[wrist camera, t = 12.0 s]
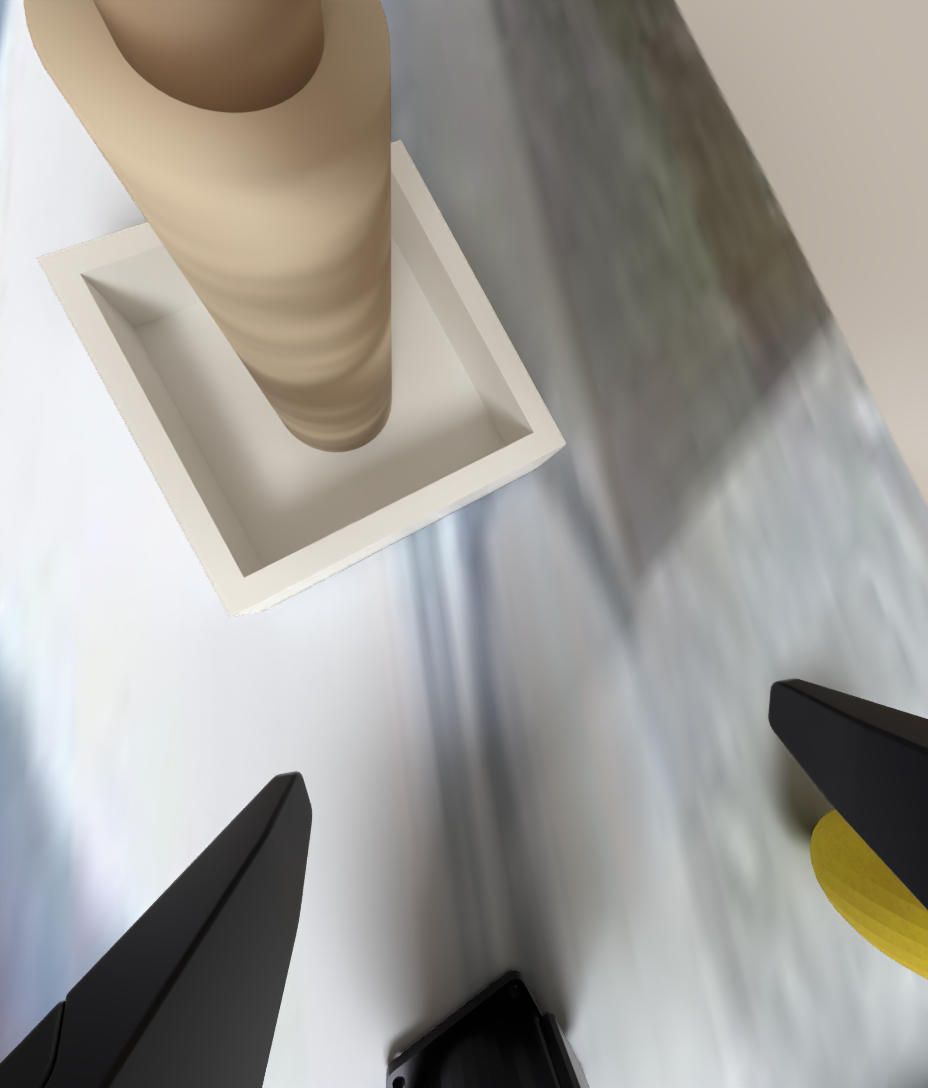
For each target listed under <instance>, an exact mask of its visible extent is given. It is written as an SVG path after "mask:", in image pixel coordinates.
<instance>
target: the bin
mask: <svg viewBox="0 0 928 1088" xmlns="http://www.w3.org/2000/svg"><path fill="white" fill-rule="evenodd" d="M36 259H37V260H38V262H39V264H40V266H41V268H42V270H43V272H44V273H45V275H46V277H47V279H48V281H49V283H50V285H51V286H52V288H53V290H54V292H55V294H56V296H57V298H58V299H59V301H60V303H61V305H62V307H63V309H64V311H65V312H66V314H67V316H68V318H69V320H70V322H71V324H72V326H73V327H74V329H75V331H76V333H77V335H78V337H79V339H80V340H81V342H82V344H83V346H84V348H85V350H86V352H87V353H88V355H89V357H90V359H91V361H92V363H93V365H94V366H95V368H96V370H97V372H98V374H99V376H100V378H101V379H102V381H103V383H104V385H105V387H106V389H107V391H108V392H109V394H110V396H111V398H112V400H113V402H114V404H115V406H116V407H117V409H118V411H119V413H120V415H121V417H122V419H123V420H124V422H125V424H126V426H127V428H128V430H129V432H130V433H131V435H132V437H133V439H134V441H135V443H136V445H137V446H138V448H139V450H140V452H141V454H142V456H143V458H144V459H145V461H146V463H147V465H148V467H149V469H150V471H151V473H152V474H153V476H154V478H155V480H156V482H157V484H158V486H159V487H160V489H161V491H162V493H163V495H164V497H165V499H166V500H167V502H168V504H169V506H170V508H171V510H172V512H173V513H174V515H175V517H176V519H177V521H178V523H179V525H180V526H181V528H182V530H183V532H184V534H185V536H186V538H187V539H188V541H189V543H190V545H191V547H192V549H193V551H194V553H195V554H196V556H197V558H198V560H199V562H200V564H201V566H202V567H203V569H204V571H205V573H206V575H207V577H208V579H209V580H210V582H211V584H212V586H213V588H214V590H215V592H216V593H217V595H218V597H219V599H220V601H221V603H222V605H223V606H224V608H225V610H226V612H227V614H228V616H229V618H231V617H236V616H241V615H246V614H252V613H257V612H262V611H265V610H267V609H269V608H271V607H273V606H275V605H277V604H279V603H280V602H282V601H284V600H286V599H288V598H290V597H292V596H294V595H296V594H298V593H300V592H302V591H303V590H305V589H307V588H309V587H311V586H313V585H315V584H317V583H319V582H321V581H323V580H325V579H326V578H328V577H330V576H332V575H334V574H336V573H338V572H340V571H342V570H344V569H346V568H348V567H350V566H351V565H353V564H355V563H357V562H359V561H361V560H363V559H365V558H367V557H369V556H371V555H373V554H374V553H376V552H378V551H380V550H382V549H384V548H386V547H388V546H390V545H392V544H394V543H396V542H397V541H399V540H401V539H403V538H405V537H407V536H409V535H411V534H413V533H415V532H417V531H419V530H420V529H422V528H424V527H426V526H428V525H430V524H432V523H434V522H436V521H438V520H440V519H442V518H443V517H445V516H447V515H449V514H451V513H453V512H455V511H457V510H459V509H461V508H463V507H465V506H466V505H468V504H470V503H472V502H474V501H476V500H478V499H480V498H482V497H484V496H486V495H488V494H490V493H491V492H493V491H495V490H497V489H499V488H501V487H503V486H505V485H507V484H509V483H511V482H513V481H514V480H516V479H518V478H520V477H522V476H524V475H526V474H528V473H530V472H532V471H534V470H535V469H536V468H538V467H539V466H540V465H541V464H542V463H544V462H545V461H546V460H547V459H549V458H550V457H551V456H552V455H554V454H555V453H556V452H557V451H558V450H560V449H561V448H562V447H563V446H565V445H566V442H565V440H564V438H563V437H562V435H561V433H560V431H559V429H558V427H557V425H556V424H555V422H554V420H553V418H552V416H551V414H550V413H549V411H548V409H547V407H546V405H545V403H544V402H543V400H542V398H541V396H540V394H539V392H538V391H537V389H536V387H535V385H534V383H533V381H532V380H531V378H530V376H529V374H528V372H527V370H526V369H525V367H524V365H523V363H522V361H521V359H520V357H519V356H518V354H517V352H516V350H515V348H514V346H513V345H512V343H511V341H510V339H509V337H508V335H507V334H506V332H505V330H504V328H503V326H502V324H501V323H500V321H499V319H498V317H497V315H496V313H495V312H494V310H493V308H492V306H491V304H490V302H489V301H488V299H487V297H486V295H485V293H484V291H483V290H482V288H481V286H480V284H479V282H478V280H477V278H476V277H475V275H474V273H473V271H472V269H471V267H470V266H469V264H468V262H467V260H466V258H465V256H464V255H463V253H462V251H461V249H460V247H459V245H458V244H457V242H456V240H455V238H454V236H453V234H452V233H451V231H450V229H449V227H448V225H447V223H446V222H445V220H444V218H443V216H442V214H441V212H440V211H439V209H438V207H437V205H436V203H435V201H434V199H433V198H432V196H431V194H430V192H429V190H428V188H427V187H426V185H425V183H424V181H423V179H422V177H421V176H420V174H419V172H418V170H417V168H416V166H415V165H414V163H413V161H412V159H411V157H410V155H409V154H408V152H407V150H406V148H405V146H404V144H403V143H402V141H401V140H398V141H395V142H391V332H392V405H391V411H390V415H389V418H388V421H387V423H386V425H385V426H384V428H383V429H382V431H381V432H380V433H379V434H378V435H377V436H376V437H375V438H374V439H373V440H372V441H370V442H369V443H367V444H366V445H364V446H362V447H360V448H357V449H354V450H351V451H346V452H326V451H322V450H318V449H315V448H312V447H310V446H308V445H306V444H304V443H302V442H301V441H300V440H298V439H297V438H296V437H295V436H293V435H292V434H291V433H290V431H289V430H288V429H287V428H286V426H285V425H284V423H283V422H282V421H281V419H280V418H279V416H278V415H277V413H276V412H275V410H274V409H273V407H272V406H271V404H270V403H269V401H268V400H267V398H266V397H265V395H264V394H263V392H262V391H261V389H260V388H259V386H258V385H257V383H256V382H255V380H254V379H253V377H252V376H251V374H250V373H249V371H248V370H247V368H246V367H245V366H244V364H243V363H242V361H241V360H240V358H239V357H238V355H237V354H236V352H235V351H234V349H233V348H232V346H231V345H230V343H229V342H228V340H227V339H226V337H225V336H224V334H223V333H222V331H221V330H220V328H219V327H218V325H217V324H216V322H215V321H214V319H213V318H212V316H211V315H210V314H209V312H208V311H207V309H206V308H205V306H204V305H203V303H202V302H201V300H200V299H199V297H198V296H197V294H196V293H195V291H194V290H193V288H192V287H191V285H190V284H189V282H188V281H187V279H186V278H185V276H184V275H183V273H182V272H181V270H180V269H179V267H178V266H177V264H176V263H175V261H174V260H173V259H172V257H171V256H170V254H169V253H168V251H167V250H166V248H165V247H164V245H163V244H162V242H161V241H160V239H159V238H158V236H157V235H156V233H155V232H154V230H153V229H152V227H151V226H150V224H149V223H148V222H145V223H142V224H139V225H136V226H133V227H130V228H127V229H123V230H120V231H117V232H114V233H111V234H108V235H105V236H102V237H99V238H96V239H93V240H90V241H86V242H83V243H80V244H77V245H74V246H71V247H68V248H65V249H62V250H59V251H56V252H53V253H49V254H46V255H43V256H40V257H37V258H36Z"/></svg>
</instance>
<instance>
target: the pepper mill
mask: <svg viewBox="0 0 928 1088" xmlns="http://www.w3.org/2000/svg"><path fill="white" fill-rule="evenodd" d="M24 9H25V15H26V22H27V27H28V30H29V33H30V36H31V39H32V42H33V46H34V48H35V50H36V52H37V54H38V56H39V58H40V60H41V62H42V64H43V66H44V68H45V70H46V71H47V73H48V74H49V76H50V77H51V79H52V80H53V82H54V83H55V85H56V86H57V88H58V89H59V91H60V92H61V94H62V95H63V96H64V98H65V99H66V101H67V102H68V104H69V105H70V107H71V108H72V110H73V111H74V113H75V114H76V116H77V117H78V119H79V120H80V122H81V123H82V125H83V126H84V128H85V129H86V131H87V132H88V134H89V135H90V137H91V138H92V140H93V141H94V143H95V144H96V146H97V147H98V149H99V150H100V151H101V153H102V154H103V156H104V157H105V159H106V160H107V162H108V163H109V165H110V166H111V168H112V169H113V171H114V172H115V174H116V175H117V177H118V178H119V180H120V181H121V183H122V184H123V186H124V187H125V189H126V190H127V192H128V193H129V195H130V196H131V198H132V199H133V201H134V202H135V204H136V205H137V206H138V208H139V209H140V211H141V212H142V214H143V215H144V217H145V218H146V220H147V221H148V223H149V224H150V226H151V227H152V229H153V230H154V232H155V233H156V235H157V236H158V238H159V239H160V241H161V242H162V244H163V245H164V247H165V248H166V250H167V251H168V253H169V254H170V256H171V257H172V259H173V260H174V261H175V263H176V264H177V266H178V267H179V269H180V270H181V272H182V273H183V275H184V276H185V278H186V279H187V281H188V282H189V284H190V285H191V287H192V288H193V290H194V291H195V293H196V294H197V296H198V297H199V299H200V300H201V302H202V303H203V305H204V306H205V308H206V309H207V311H208V312H209V314H210V315H211V316H212V318H213V319H214V321H215V322H216V324H217V325H218V327H219V328H220V330H221V331H222V333H223V334H224V336H225V337H226V339H227V340H228V342H229V343H230V345H231V346H232V348H233V349H234V351H235V352H236V354H237V355H238V357H239V358H240V360H241V361H242V363H243V364H244V366H245V367H246V368H247V370H248V371H249V373H250V374H251V376H252V377H253V379H254V380H255V382H256V383H257V385H258V386H259V388H260V389H261V391H262V392H263V394H264V395H265V397H266V398H267V400H268V401H269V403H270V404H271V406H272V407H273V409H274V410H275V412H276V413H277V415H278V416H279V418H280V419H281V421H282V422H283V423H284V425H285V426H286V428H287V429H288V430H289V431H290V433H291V434H292V435H293V436H295V437H296V438H297V439H298V440H300V441H301V442H302V443H304V444H306V445H308V446H310V447H312V448H315V449H318V450H322V451H326V452H346V451H351V450H354V449H357V448H360V447H362V446H364V445H366V444H367V443H369V442H370V441H372V440H373V439H374V438H375V437H376V436H377V435H378V434H379V433H380V432H381V431H382V429H383V428H384V426H385V425H386V423H387V421H388V418H389V415H390V411H391V405H392V332H391V84H390V39H389V31H388V26H387V22H386V17H385V13H384V11H383V8H382V5H381V2H380V0H24Z"/></svg>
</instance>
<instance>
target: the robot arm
mask: <svg viewBox="0 0 928 1088" xmlns="http://www.w3.org/2000/svg"><path fill="white" fill-rule="evenodd" d="M768 718H769V723H770V725H771V727H772V729H773V731H774V732H775V734H776V735H777V736H778V738H779V739H780V740H781V741H782V743H783V744H784V745H785V746H786V748H787V749H788V750H789V752H790V753H791V754H792V755H793V757H794V758H795V759H796V760H797V762H798V763H799V764H800V766H801V767H802V768H803V769H804V771H805V772H806V773H807V775H808V776H809V777H810V778H811V780H812V781H813V782H814V783H815V785H816V786H817V787H818V789H819V790H820V791H821V792H822V794H823V795H824V796H825V797H826V799H827V800H828V801H829V802H830V803H831V805H832V806H833V807H834V808H835V809H836V811H837V812H838V813H839V814H840V815H841V816H842V817H843V819H844V820H845V821H846V822H847V823H848V824H849V825H850V826H851V827H852V828H853V830H854V831H855V832H856V833H857V834H858V835H859V836H860V837H861V838H862V839H863V841H864V842H865V843H866V844H867V845H868V846H869V847H870V848H871V849H872V850H873V851H874V853H875V854H876V855H877V856H878V857H879V858H880V859H881V860H882V861H883V862H884V863H885V865H886V866H887V867H888V868H889V869H890V870H891V871H892V872H893V873H894V874H895V875H896V877H897V878H898V879H899V880H900V881H901V882H902V883H903V884H904V885H905V886H906V887H907V889H908V890H909V891H910V892H911V893H912V894H913V895H914V896H915V897H916V898H917V899H918V901H919V902H920V903H921V904H922V905H923V906H924V907H925V908H926V909H927V910H928V719H926V718H922V717H919V716H916V715H913V714H910V713H906V712H903V711H900V710H897V709H894V708H890V707H887V706H884V705H881V704H877V703H874V702H871V701H868V700H865V699H861V698H858V697H855V696H852V695H848V694H845V693H842V692H839V691H836V690H832V689H829V688H826V687H823V686H820V685H816V684H813V683H810V682H807V681H803V680H800V679H787V680H781V681H777V682H775V683H773V685H772V686H771V691H770V703H769V714H768ZM311 824H312V808H311V804H310V800H309V797H308V793H307V790H306V786H305V783H304V779H303V777H302V775H301V773H300V772H297V771H295V772H289V773H284V774H279V775H276V776H275V777H274V778H273V779H271V781H270V782H269V783H268V784H267V785H266V786H265V787H264V788H263V789H262V790H261V791H260V792H259V793H258V794H257V795H256V796H255V797H254V798H253V799H252V800H251V802H250V803H249V804H248V805H247V806H246V807H245V808H244V809H243V810H242V811H241V812H240V813H239V814H238V815H237V816H236V817H235V818H234V819H233V820H232V821H231V823H230V824H229V825H228V826H227V827H226V828H225V829H224V830H223V831H222V832H221V833H220V834H219V835H218V836H217V837H216V838H215V839H214V840H213V841H212V842H211V844H210V845H209V846H208V847H207V848H206V849H205V850H204V851H203V852H202V853H201V854H200V855H199V856H198V857H197V858H196V859H195V860H194V861H193V862H192V863H191V865H190V866H189V867H188V868H187V869H186V870H185V871H184V872H183V873H182V874H181V875H180V876H179V877H178V878H177V879H176V880H175V881H174V882H173V883H172V884H171V886H170V887H169V888H168V889H167V890H166V891H165V892H164V893H163V894H162V895H161V896H160V897H159V898H158V899H157V900H156V901H155V902H154V903H153V904H152V905H151V906H150V908H149V909H148V910H147V911H146V912H145V913H144V914H143V915H142V916H141V917H140V918H139V919H138V920H137V921H136V922H135V923H134V924H133V925H132V926H131V927H130V929H129V930H128V931H127V932H126V933H125V934H124V935H123V936H122V937H121V938H120V939H119V940H118V941H117V942H116V943H115V944H114V945H113V946H112V947H111V948H110V950H109V951H108V952H107V953H106V954H105V955H104V956H103V957H102V958H101V959H100V960H99V961H98V962H97V963H96V964H95V965H94V966H93V967H92V968H91V969H90V971H89V972H88V973H87V974H86V975H85V976H84V977H83V978H82V979H81V980H80V981H79V982H78V983H77V984H76V985H75V986H74V987H73V988H72V989H71V990H70V992H69V993H68V994H67V996H66V1000H65V1001H60V1002H59V1003H58V1004H57V1005H56V1006H55V1007H54V1008H53V1009H52V1010H51V1011H50V1012H49V1013H48V1014H47V1015H46V1016H45V1017H44V1019H43V1020H42V1021H41V1022H40V1023H39V1024H38V1025H37V1026H36V1027H35V1028H34V1029H33V1030H32V1031H31V1032H30V1033H29V1034H28V1035H27V1036H26V1037H25V1038H24V1039H23V1041H22V1042H21V1043H20V1044H19V1045H18V1046H17V1047H16V1048H15V1049H14V1050H13V1051H12V1052H11V1053H10V1054H9V1055H8V1056H7V1057H6V1058H5V1059H4V1060H3V1061H2V1062H1V1063H0V1088H262V1085H263V1081H264V1076H265V1072H266V1067H267V1063H268V1058H269V1054H270V1049H271V1045H272V1041H273V1036H274V1032H275V1027H276V1023H277V1018H278V1014H279V1009H280V1005H281V1000H282V996H283V991H284V987H285V982H286V978H287V973H288V969H289V964H290V960H291V956H292V951H293V947H294V942H295V937H296V932H297V927H298V923H299V916H300V910H301V903H302V895H303V887H304V879H305V871H306V864H307V856H308V848H309V840H310V832H311ZM514 985H517V987H516V988H515V989H513V990H510V988H511V987H512V986H514ZM398 1076H402V1078H400V1079H395V1078H396V1077H398ZM386 1088H589V1085H588V1083H587V1080H586V1077H585V1075H584V1072H583V1070H582V1067H581V1065H580V1063H579V1061H578V1059H577V1057H576V1055H575V1053H574V1051H573V1050H572V1048H571V1046H570V1044H569V1042H568V1040H567V1038H566V1037H565V1035H564V1033H563V1031H562V1029H561V1027H560V1025H559V1024H558V1022H557V1020H556V1018H555V1016H554V1015H553V1014H551V1013H549V1012H546V1013H545V1014H544V1015H543V1014H542V1012H541V1010H540V1008H539V1006H538V1004H537V1003H536V1001H535V999H534V997H533V995H532V993H531V991H530V990H529V988H528V986H527V984H526V982H525V980H524V979H523V977H522V975H521V974H520V973H519V972H517V971H510V972H508V973H506V974H505V975H503V976H502V977H501V978H500V979H498V980H497V981H496V982H494V983H493V984H492V985H490V986H489V987H488V988H487V989H485V990H484V991H483V992H481V993H480V994H479V995H478V996H476V997H475V998H474V999H472V1000H471V1001H470V1002H469V1003H467V1004H466V1005H465V1006H463V1007H462V1008H461V1009H460V1010H458V1011H457V1012H456V1013H454V1014H453V1015H452V1016H450V1017H449V1018H448V1019H447V1020H445V1021H444V1022H443V1023H441V1024H440V1025H439V1026H438V1027H436V1028H435V1029H434V1030H432V1031H431V1032H430V1033H429V1034H427V1035H426V1036H425V1037H423V1038H422V1039H421V1040H420V1041H418V1042H417V1043H416V1044H414V1045H413V1046H412V1047H410V1048H409V1049H408V1050H407V1051H405V1052H404V1053H403V1054H401V1055H400V1056H399V1057H398V1058H396V1059H395V1060H394V1061H393V1062H392V1063H391V1064H390V1065H389V1066H388V1069H387V1073H386Z"/></svg>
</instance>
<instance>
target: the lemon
mask: <svg viewBox="0 0 928 1088" xmlns="http://www.w3.org/2000/svg"><path fill="white" fill-rule="evenodd" d="M810 855H811V862H812V866H813V869H814V872H815V875H816V878H817V880H818V882H819V884H820V886H821V887H822V889H823V891H824V892H825V894H826V896H827V898H828V899H829V901H830V902H831V904H832V905H833V906H834V908H835V909H836V910H837V911H838V912H839V913H840V914H841V916H842V917H843V918H844V919H845V920H846V921H847V922H848V923H849V924H850V925H851V926H852V927H853V928H854V929H855V930H856V931H857V932H858V933H859V934H860V935H862V936H863V937H864V938H865V939H866V940H867V941H868V942H870V943H871V944H872V945H873V946H875V947H876V948H877V949H879V950H880V951H881V952H883V953H884V954H886V955H887V956H888V957H890V958H891V959H893V960H895V961H896V962H898V963H899V964H901V965H903V966H904V967H906V968H908V969H910V970H912V971H913V972H915V973H917V974H919V975H920V976H922V977H924V978H926V979H928V910H927V909H926V908H925V907H924V906H923V905H922V904H921V903H920V902H919V901H918V899H917V898H916V897H915V896H914V895H913V894H912V893H911V892H910V891H909V890H908V889H907V887H906V886H905V885H904V884H903V883H902V882H901V881H900V880H899V879H898V878H897V877H896V875H895V874H894V873H893V872H892V871H891V870H890V869H889V868H888V867H887V866H886V865H885V863H884V862H883V861H882V860H881V859H880V858H879V857H878V856H877V855H876V854H875V853H874V851H873V850H872V849H871V848H870V847H869V846H868V845H867V844H866V843H865V842H864V841H863V839H862V838H861V837H860V836H859V835H858V834H857V833H856V832H855V831H854V830H853V828H852V827H851V826H850V825H849V824H848V823H847V822H846V821H845V820H844V819H843V817H842V816H841V815H840V814H839V813H838V812H837V811H836V809H834V810H833V811H831V812H829V813H827V814H826V815H824V816H823V817H822V818H821V819H820V820H819V821H818V823H817V825H816V826H815V828H814V830H813V832H812V837H811V842H810Z"/></svg>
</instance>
